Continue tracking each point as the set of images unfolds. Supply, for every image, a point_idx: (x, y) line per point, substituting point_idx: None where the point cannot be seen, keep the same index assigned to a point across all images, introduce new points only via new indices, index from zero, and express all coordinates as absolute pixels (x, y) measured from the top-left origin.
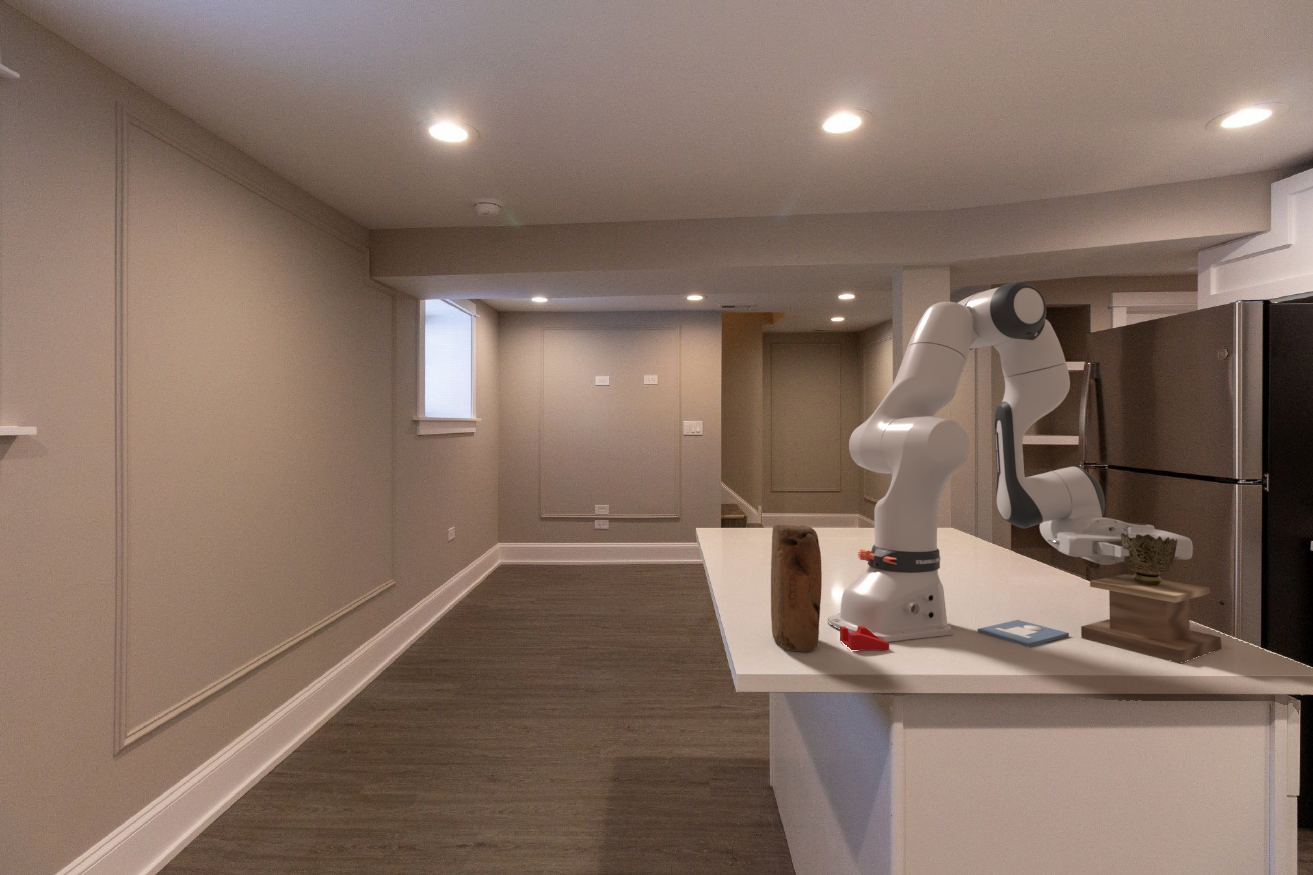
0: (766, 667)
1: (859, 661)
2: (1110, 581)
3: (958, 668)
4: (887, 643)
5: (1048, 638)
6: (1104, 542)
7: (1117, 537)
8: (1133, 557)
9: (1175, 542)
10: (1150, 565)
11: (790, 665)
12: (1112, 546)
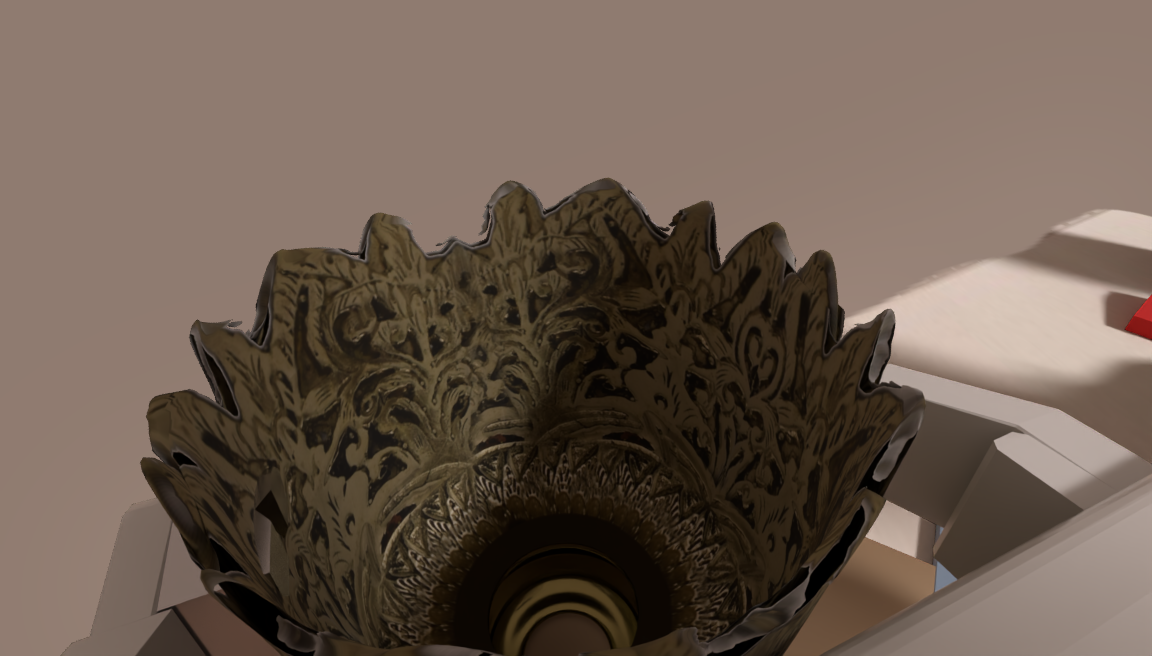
0: (1130, 223)
1: (1084, 274)
2: (820, 625)
3: (945, 305)
4: (1135, 313)
5: (935, 577)
6: (1064, 460)
7: (1052, 631)
8: (684, 391)
9: (318, 262)
10: (566, 407)
11: (1122, 236)
12: (895, 378)
